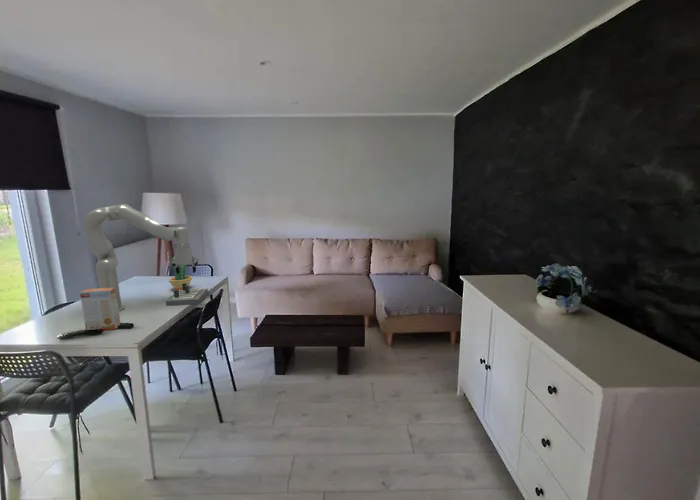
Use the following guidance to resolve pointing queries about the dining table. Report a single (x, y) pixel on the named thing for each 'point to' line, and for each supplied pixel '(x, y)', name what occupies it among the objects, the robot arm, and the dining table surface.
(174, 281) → the potted cactus
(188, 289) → the breaker handle
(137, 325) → the dining table surface
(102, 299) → the cracker box
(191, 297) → the breaker panel
